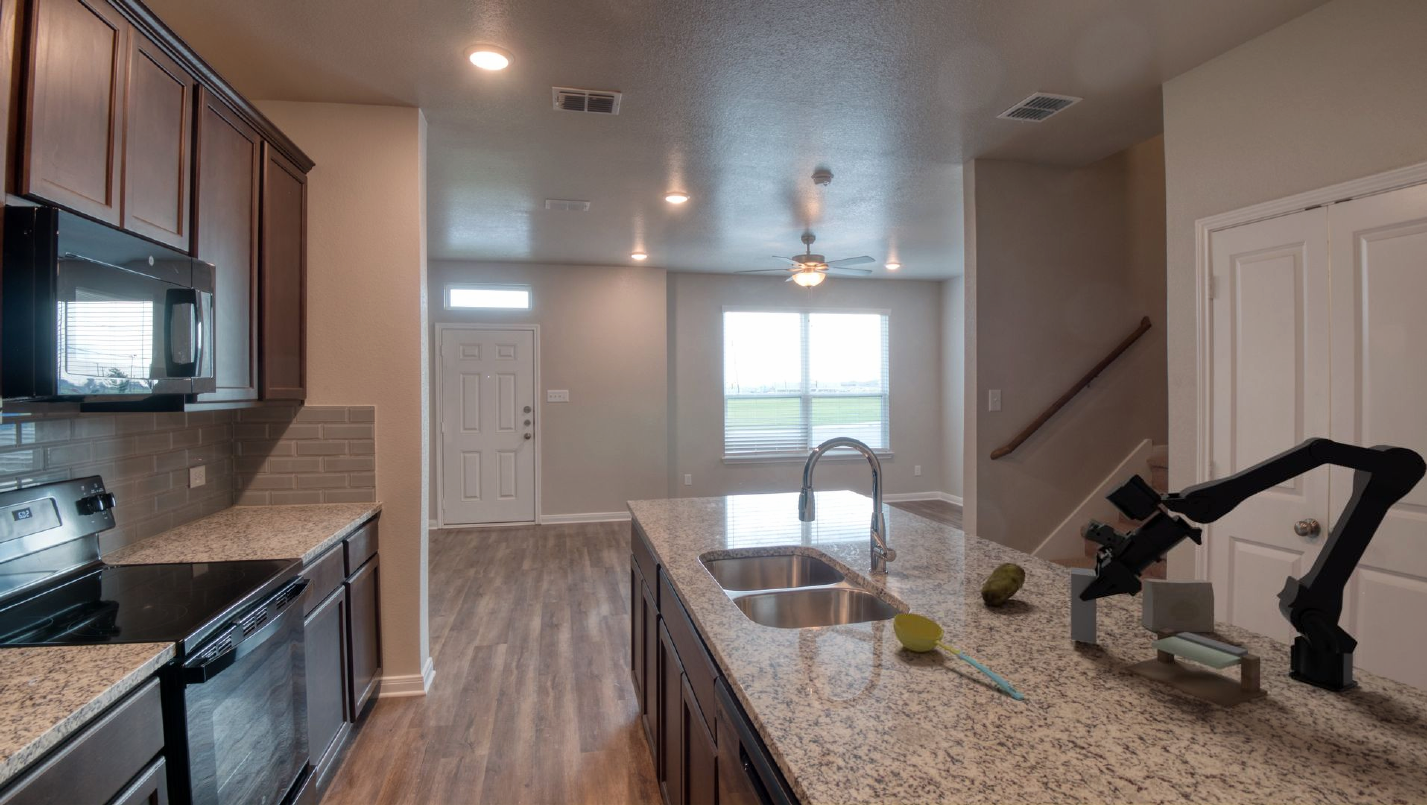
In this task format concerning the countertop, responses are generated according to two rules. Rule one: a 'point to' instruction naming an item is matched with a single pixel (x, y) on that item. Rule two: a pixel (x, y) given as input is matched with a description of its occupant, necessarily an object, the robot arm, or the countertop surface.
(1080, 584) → the grey rectangular block
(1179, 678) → the trapdoor frame
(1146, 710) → the countertop surface
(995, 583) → the potato
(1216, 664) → the trapdoor
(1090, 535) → the robot arm
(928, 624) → the ladle
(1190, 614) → the grey plaster block
